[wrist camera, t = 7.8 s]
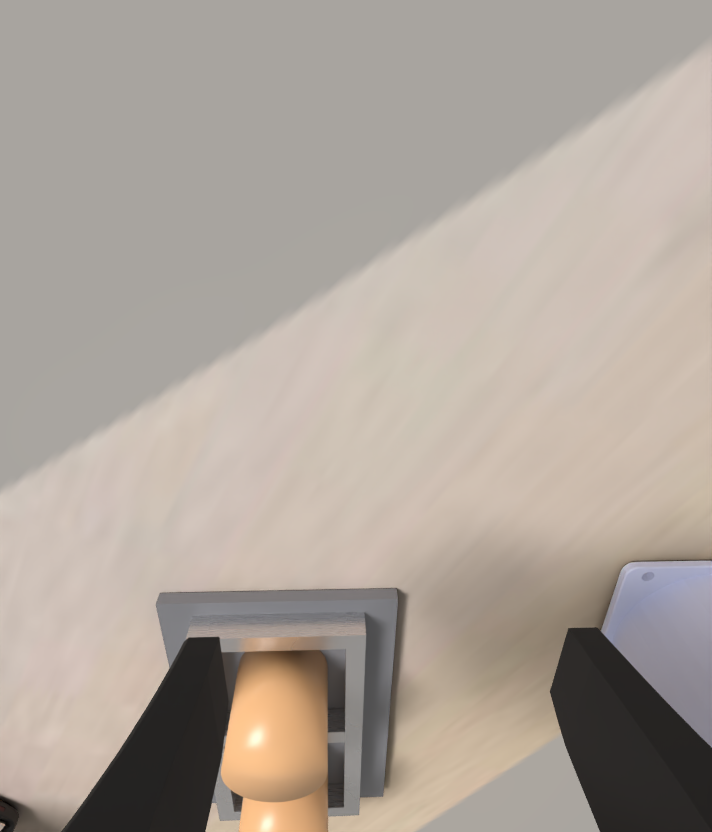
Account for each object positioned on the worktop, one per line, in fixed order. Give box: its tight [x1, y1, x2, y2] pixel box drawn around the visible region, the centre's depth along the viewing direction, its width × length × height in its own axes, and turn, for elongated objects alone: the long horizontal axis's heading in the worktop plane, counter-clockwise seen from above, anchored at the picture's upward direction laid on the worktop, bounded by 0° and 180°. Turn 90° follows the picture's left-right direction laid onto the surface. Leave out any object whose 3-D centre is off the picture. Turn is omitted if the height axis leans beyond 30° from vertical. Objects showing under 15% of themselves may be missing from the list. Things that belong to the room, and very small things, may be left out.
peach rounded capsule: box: [221, 650, 328, 802], centre depth 22 cm, size 4×4×4 cm
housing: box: [156, 588, 398, 832], centre depth 24 cm, size 10×15×5 cm, turn 179°
